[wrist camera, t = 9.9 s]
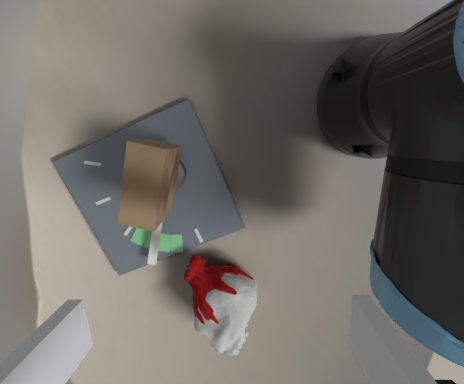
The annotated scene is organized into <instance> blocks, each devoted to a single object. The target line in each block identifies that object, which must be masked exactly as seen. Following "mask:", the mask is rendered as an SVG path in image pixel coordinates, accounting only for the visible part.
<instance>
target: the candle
mask: <svg viewBox="0 0 464 384" xmlns="http://www.w3.org/2000/svg"><path fill="white" fill-rule="evenodd" d="M187 267H189V269H187V270H186V272H185V275H184V279H185V280H186V281H187V282H189V283H190V285H191V286H192V289H193V307H194V312H195V317H196V318H195V321H194V325H195V328H196V331H197V332H199V333H202V334H203V335H205V336H206V337H207V338H208V340H209V341H210V343H211V346H212V347H213V348H214V349H215V350H216V351H217V352H218V353H219V354H221V353H223V352H224V353H225V354H226V355H233V356H238V354H239V353H240V351H239V350H238V349H240V348H242V347H243V343H245V342H246V338H245V337H248V331H247V330H245V328H247V326H249V321H248V320H249V319H250V317H251V315H252V313H253V311H254V309H255V307H256V303H257V284H256V281H255V278H254V277H253V276H252V275H251V274H250V273H249V272H247V271H245V270H243V269H240V268H238V267H235V266H229V265H227V266H222V265H209V264H207V263H206V261H205V260H204V259H201V258H200V257H199V256H198V255H193V256H192V257H191V260H190V265H189V266H187Z"/></svg>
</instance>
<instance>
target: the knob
mask: <svg viewBox="0 0 464 384" xmlns="http://www.w3.org/2000/svg"><path fill="white" fill-rule="evenodd" d="M181 151H182V146H179V145H175V144H170V143H165V142H161V141H156V140H152V139H150V140H133V141H127V143H126V152H125V161H124V170H123V180H122V189H121V198H120V207H119V216H118V224H121V225H125V226H130V227H135V228H139V229H144V230H149V231H152V234H151V241H150V248H149V255H148V262H147V264H150V265H156V262H157V256H158V250H159V243H160V237H161V230H162V224H163V221H164V220H165V218H166V217H167V216H168V215H169V214H170V213H171V212H172V206H173V200H174V194H175V191H176V190H177V189H178V188H180V187H181V186H182V185H183V183H184V182H185V179H186V169H185V166H184V164H183V163H182V162H181V161H180V157H181Z"/></svg>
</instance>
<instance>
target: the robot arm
mask: <svg viewBox="0 0 464 384" xmlns="http://www.w3.org/2000/svg"><path fill="white" fill-rule="evenodd" d="M317 114H318V120H319V123H320V126H321V129H322V131H323V133H324V135H325V136H326V138H327V139H328V140H329V141H330V142H331V143H332V144H333V145H334V146H335V147H336V148H337V149H339V150H341V151H342V152H344V153H346V154H349V155H352V156H357V157H362V158H372V159H375V158H384V157H387V161H386V167H385V171H384V177H383V184H382V190H381V196H380V203H379V209H378V215H377V222H376V228H375V234H374V239H373V240H372V241H371V245H370V255H371V266H370V284H371V288H372V291H373V293H374V295H375V296H376V298H377V299H378V300H379V302H380V304H381V307H382V308H383V309H384V311H385V312H386V313H387V314H388V315H389V316H390V318H391V319H392V320H393V321H394V322H395V323H396V324H397V325H398V326H400V327H401V328H402V329H403V330H404V331H405V332H407V333H408V334H409V335H410V336H411V337H413V338H414V339H416V340H417V341H418V342H420V343H421V344H423V345H424V346H426V347H427V348H429V349H430V350H432V351H433V352H435V353H437V354H439V355H440V356H442V357H444V358H446V359H448V360H450V361H451V362H454V363H455V364H457V365H460V366H462V367H464V0H453V1H451V2H450V3H448V4H447V5H445V6H443V7H442V8H440V9H439V10H437V11H436V12H434V13H432V14H431V15H429V16H428V17H426V18H425V19H423V20H421V21H420V22H418V23H417V24H415V25H414V26H412V27H410V28H409V29H407V30H406V31H404V32H398V33H387V34H380V35H376V36H373V37H370V38H368V39H365V40H363V41H361V42H359V43H358V44H356V45H354V46H353V47H351V48H350V49H349V50H348V51H346V52H345V53H344V54H342V55H341V56H340V57H339V58H338V59H337V60H336V61H335V62H334V63H333V64H332V66H331V67H330V68H329V70H328V71H327V73H326V75H325V77H324V79H323V81H322V83H321V86H320V89H319V93H318V99H317ZM349 345H350V347H351V349H352V351H353V353H354V355H355V357H356V359H357V361H358V363H359V365H360V367H361V370H362V372H363V374H364V376H365V378H366V380H367V382H368V384H456V383H455V382H453V381H452V380H434V378H433V377H432V376H431V374H430V373H429V372H428V371H427V369H426V368H425V367H424V365H423V364H422V363H421V361H420V360H419V359H418V358H417V356H416V355H415V354H414V352H413V351H412V350H411V349H410V347H409V346H408V345H407V343H406V342H405V341H404V339H403V338H402V337H401V336H400V334H399V333H398V332H397V330H396V329H395V328H394V327H393V325H392V324H391V323H390V321H389V320H388V319H387V317H386V316H385V315H384V314H383V312H382V311H381V310H380V308H379V307H378V306H377V305H376V303H375V302H374V301H373V299H372V298H371V297H370V296H369V295H352V303H351V318H350V334H349ZM92 346H93V342H92V338H91V333H90V329H89V325H88V321H87V316H86V312H85V308H84V303H83V300H67V301H66V302H65V303H64V304H63V305H62V306H61V307H60V308H59V309H58V310H57V311H56V312H55V313H53V314H52V315H51V316H50V317H49V318H48V319H47V320H46V321H45V322H44V323H43V324H42V325H41V326H40V327H38V328H37V329H36V330H35V331H34V332H33V333H32V334H31V335H30V336H29V337H28V338H27V339H26V340H25V341H23V342H22V344H20V345H19V346H18V347H17V348H16V349H15V350H14V351H13V352H12V353H11V354H10V355H9V356H7V357H6V359H4V360H3V361H2V362H1V363H0V384H65V383H66V382H67V380H68V379H69V378H70V376H71V375H72V374H73V372H74V371H75V369H76V368H77V367H78V365H79V364H80V362H81V361H82V360H83V358H84V357H85V356H86V354H87V353H88V351H89V350H90V349H91V347H92Z"/></svg>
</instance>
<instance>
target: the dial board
mask: <svg viewBox="0 0 464 384" xmlns="http://www.w3.org/2000/svg"><path fill="white" fill-rule="evenodd" d="M150 139H152V140H156V141H161V142H165V143H170V144H175V145H179V146H182V151H181V157H180V161H181V162H182V163H183V164H184V166H185V169H186V179H185V182H184V183H183V185H182V186H181V187H180V188H178V189H177V190H176V191H175V194H174V200H173V206H172V212H171V213H170V214H169V215H168V216H167V217H166V218H165V220H164V221H163V224H162V230H161V237H160V243H159V250H158V256H157V261H159V260H161V259H164V258H166V257H169V256H172V255H174V254H177V253H180V252H184V251H185V250H187V249H190V248H193V247H195V246H198V245H201V244H203V243H206V242H208V241H211V240H214V239H216V238H219V237H221V236H224V235H227V234H229V233H232V232H235V231H237V230H240V229H242V228H244V223H243V221H242V218H241V216H240V214H239V211H238V209H237V207H236V205H235V202H234V200H233V198H232V195H231V193H230V191H229V188H228V186H227V184H226V181H225V179H224V177H223V174H222V172H221V170H220V168H219V165H218V163H217V161H216V158H215V156H214V154H213V151H212V149H211V147H210V144H209V142H208V140H207V138H206V135H205V133H204V131H203V128H202V126H201V124H200V121H199V119H198V117H197V114H196V112H195V110H194V108H193V105H192V103H191V101H190V100H189V99H188V100H185V101H183V102H181V103H179V104H177V105H175V106H172V107H170V108H168V109H166V110H164V111H162V112H159V113H157V114H155V115H153V116H151V117H149V118H146V119H144V120H142V121H140V122H138V123H136V124H133V125H131V126H129V127H127V128H125V129H123V130H120V131H118V132H116V133H114V134H112V135H110V136H107V137H105V138H103V139H101V140H99V141H97V142H94V143H92V144H90V145H88V146H86V147H84V148H81V149H79V150H77V151H75V152H73V153H71V154H68V155H66V156H64V157H62V158H60V159H57V160H55V161H53V164H54V166H55V167H56V169H57V171H58V172H59V174H60V176H61V178H62V179H63V181H64V183H65V184H66V186H67V188H68V190H69V191H70V193H71V195H72V196H73V198H74V200H75V201H76V203H77V205H78V207H79V208H80V210H81V212H82V213H83V215H84V217H85V219H86V220H87V222H88V224H89V225H90V227H91V229H92V230H93V232H94V234H95V236H96V237H97V239H98V241H99V242H100V244H101V246H102V248H103V249H104V251H105V253H106V254H107V256H108V258H109V259H110V261H111V263H112V265H113V266H114V268H115V270H116V271H117V273H118V275H122V274H125V273H127V272H130V271H132V270H135V269H138V268H140V267H143V266H145V265H148V264H147V262H148V255H149V248H150V241H151V234H152V231H149V230H144V229H139V228H135V227H130V226H125V225H121V224H118V216H119V207H120V198H121V189H122V180H123V170H124V161H125V152H126V143H127V141H133V140H150Z"/></svg>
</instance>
